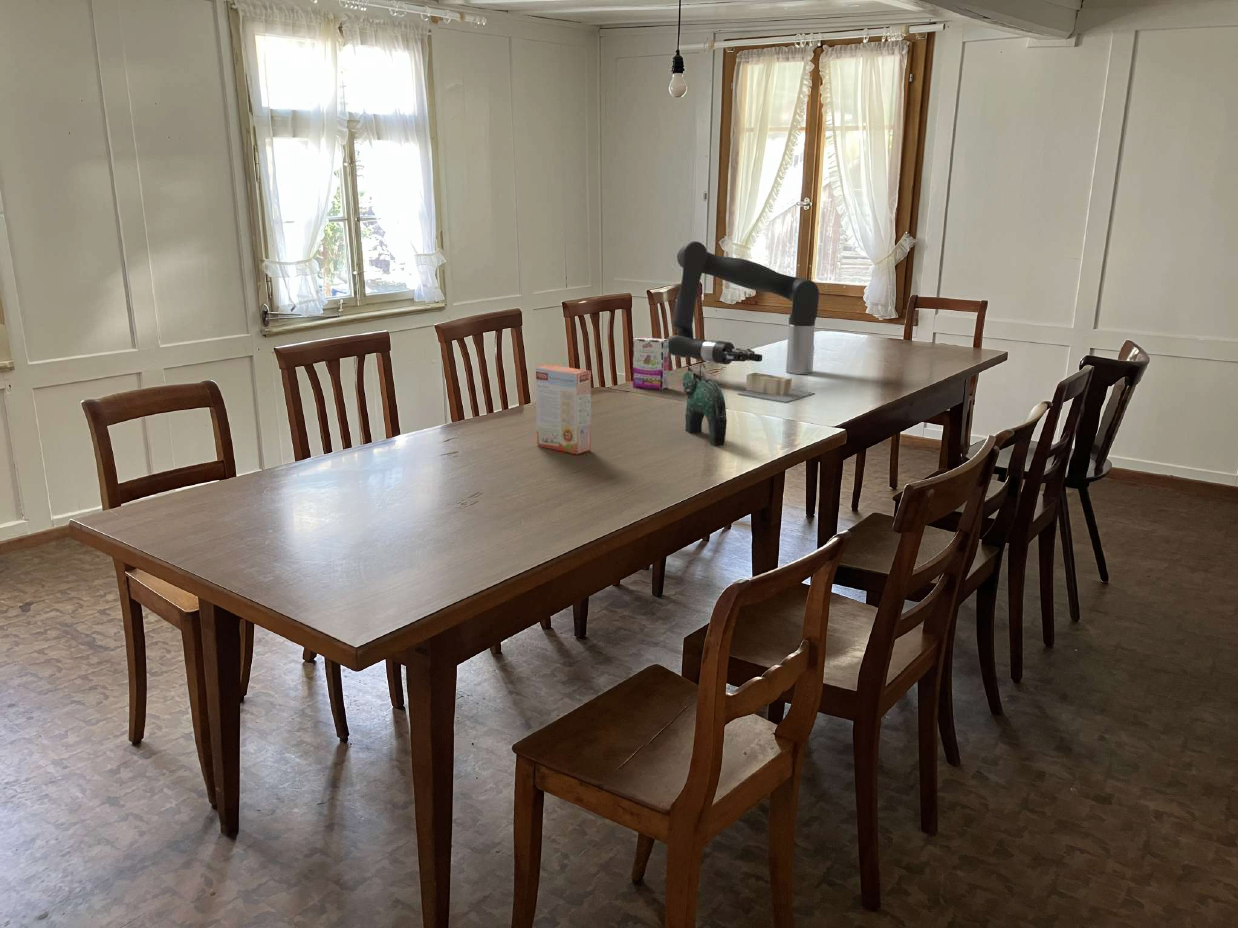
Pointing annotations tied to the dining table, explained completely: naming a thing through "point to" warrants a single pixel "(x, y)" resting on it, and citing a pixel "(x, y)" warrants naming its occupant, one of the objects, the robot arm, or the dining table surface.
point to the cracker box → (563, 408)
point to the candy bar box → (650, 363)
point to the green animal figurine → (704, 405)
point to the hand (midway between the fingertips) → (761, 358)
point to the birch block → (768, 384)
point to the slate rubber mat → (787, 398)
